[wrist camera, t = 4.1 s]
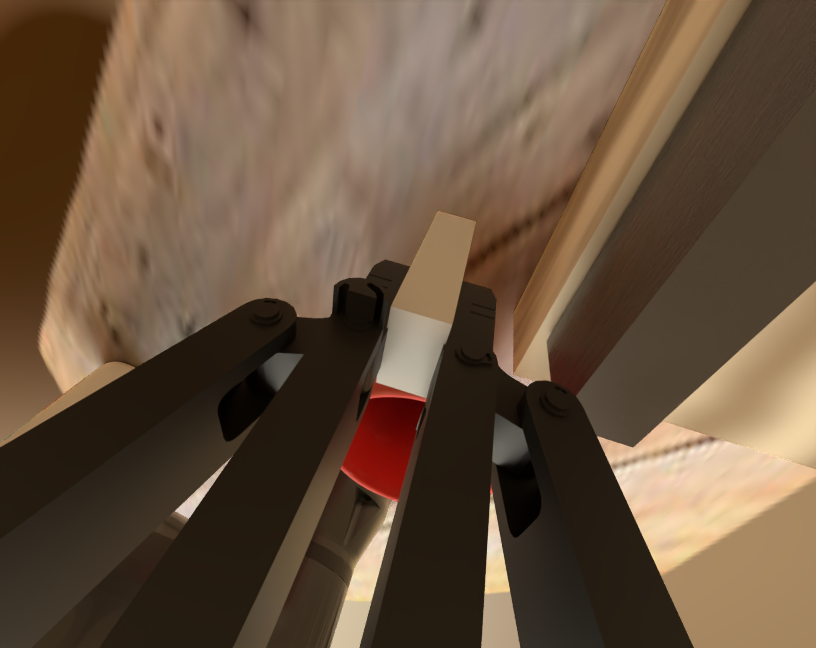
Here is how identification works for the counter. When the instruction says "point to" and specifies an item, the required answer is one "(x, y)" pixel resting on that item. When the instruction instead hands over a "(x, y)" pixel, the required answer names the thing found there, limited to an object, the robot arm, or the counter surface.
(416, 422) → the flower pot
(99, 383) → the milk bottle
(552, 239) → the stool seat
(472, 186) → the counter surface
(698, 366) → the folding leg
